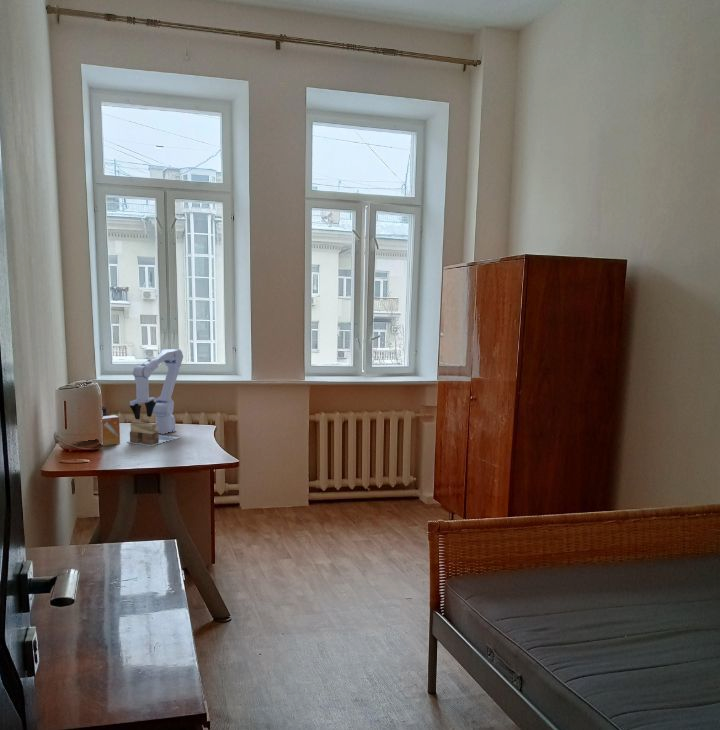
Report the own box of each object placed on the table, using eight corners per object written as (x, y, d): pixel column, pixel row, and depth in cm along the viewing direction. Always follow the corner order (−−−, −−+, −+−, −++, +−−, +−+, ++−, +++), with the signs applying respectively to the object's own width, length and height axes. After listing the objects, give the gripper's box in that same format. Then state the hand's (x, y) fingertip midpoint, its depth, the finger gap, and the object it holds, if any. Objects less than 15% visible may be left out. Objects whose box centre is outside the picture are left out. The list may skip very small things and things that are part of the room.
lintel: (137, 429, 273) (136, 421, 272) (157, 432, 267) (157, 423, 267) (130, 431, 269) (130, 423, 269) (151, 433, 264) (151, 425, 263)
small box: (102, 446, 262) (101, 418, 261) (98, 444, 267) (96, 416, 265) (120, 443, 268) (119, 416, 266) (115, 441, 272) (114, 414, 271)
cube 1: (138, 439, 274) (137, 429, 273) (145, 440, 272) (145, 430, 271) (130, 441, 269) (129, 431, 269) (137, 442, 267) (137, 432, 266)
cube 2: (150, 441, 270) (150, 431, 270) (158, 442, 268) (158, 431, 268) (142, 443, 266) (142, 433, 265) (150, 444, 264) (150, 434, 263)
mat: (154, 435, 286) (154, 434, 286) (179, 438, 279) (179, 437, 279) (127, 442, 269) (126, 441, 269) (152, 446, 263) (152, 445, 263)
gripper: (137, 392, 267) (138, 421, 269) (159, 389, 280) (160, 416, 282) (126, 391, 270) (127, 419, 271) (148, 388, 283) (149, 415, 285)
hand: (143, 417), depth 277 cm, fingers open, 7 cm apart
